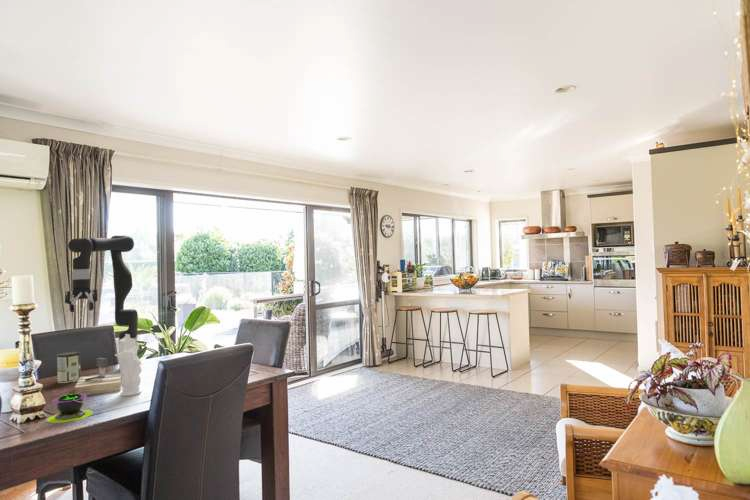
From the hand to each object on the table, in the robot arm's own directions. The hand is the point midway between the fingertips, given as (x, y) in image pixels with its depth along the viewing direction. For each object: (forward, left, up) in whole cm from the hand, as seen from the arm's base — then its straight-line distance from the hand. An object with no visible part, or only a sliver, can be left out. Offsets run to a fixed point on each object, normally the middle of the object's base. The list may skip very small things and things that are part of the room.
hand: (81, 311), depth 238 cm
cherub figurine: (+33, +20, -36) cm, 53 cm away
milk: (-7, +20, -36) cm, 42 cm away
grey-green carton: (-14, -7, -36) cm, 40 cm away
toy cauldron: (+58, 0, -36) cm, 69 cm away
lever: (+12, +6, -32) cm, 34 cm away
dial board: (+13, +8, -36) cm, 39 cm away
